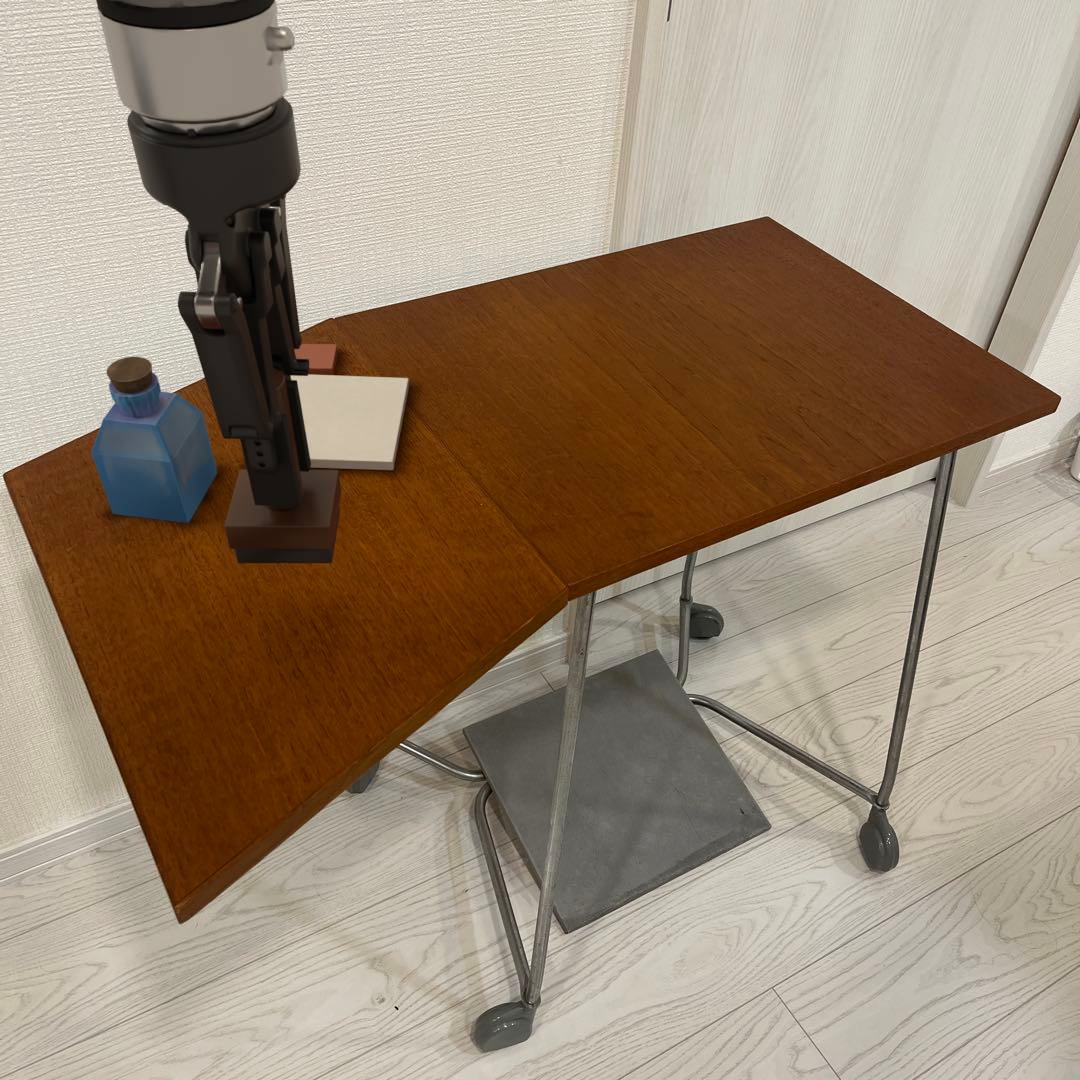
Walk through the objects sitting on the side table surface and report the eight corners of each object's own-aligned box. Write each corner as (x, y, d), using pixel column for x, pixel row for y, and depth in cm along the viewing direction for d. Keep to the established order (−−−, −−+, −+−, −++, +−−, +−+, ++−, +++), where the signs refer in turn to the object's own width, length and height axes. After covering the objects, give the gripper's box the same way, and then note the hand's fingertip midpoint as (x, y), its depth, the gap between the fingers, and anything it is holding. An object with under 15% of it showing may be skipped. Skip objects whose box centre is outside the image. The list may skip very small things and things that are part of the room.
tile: (249, 465, 84) (247, 456, 84) (278, 381, 93) (277, 372, 92) (393, 470, 85) (392, 461, 84) (409, 386, 93) (408, 377, 93)
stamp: (233, 566, 64) (194, 407, 56) (248, 508, 68) (213, 352, 60) (335, 566, 65) (312, 408, 56) (343, 509, 69) (323, 353, 60)
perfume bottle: (145, 464, 84) (107, 341, 76) (217, 472, 84) (186, 349, 75) (113, 513, 80) (68, 389, 71) (188, 523, 79) (152, 398, 71)
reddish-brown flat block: (290, 378, 94) (288, 367, 93) (296, 354, 97) (294, 343, 96) (333, 378, 94) (332, 368, 93) (338, 354, 97) (336, 343, 96)
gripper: (252, 179, 41) (322, 576, 58) (318, 46, 53) (361, 410, 69) (68, 172, 41) (190, 572, 58) (174, 41, 53) (251, 406, 69)
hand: (283, 483), depth 63 cm, fingers closed on stamp, 3 cm apart
